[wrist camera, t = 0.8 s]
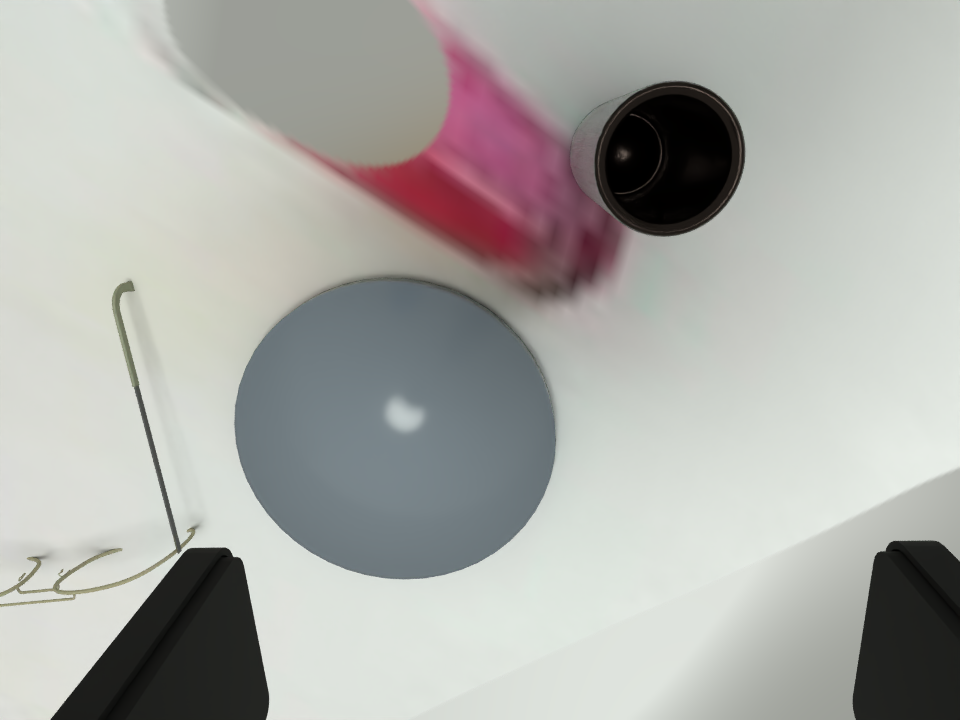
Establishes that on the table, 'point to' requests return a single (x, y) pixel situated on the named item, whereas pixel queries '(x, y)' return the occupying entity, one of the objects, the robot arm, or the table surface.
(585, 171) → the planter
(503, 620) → the table surface
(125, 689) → the robot arm
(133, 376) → the eyeglasses
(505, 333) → the dish
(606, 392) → the table surface
